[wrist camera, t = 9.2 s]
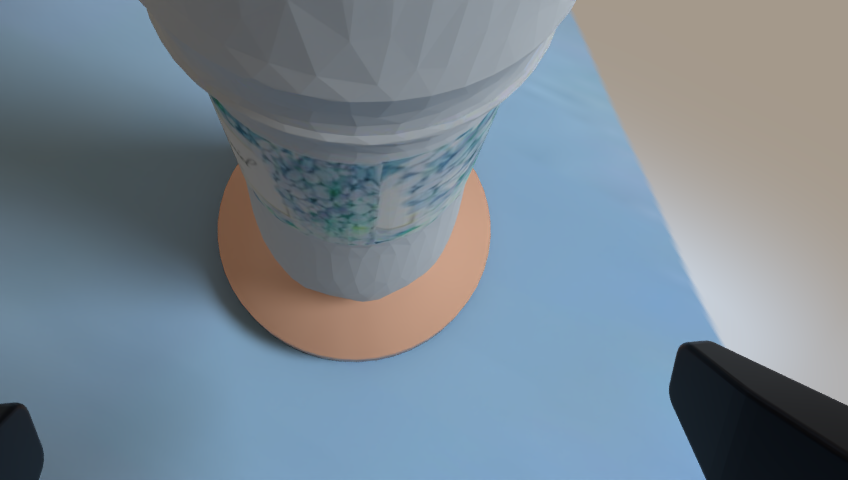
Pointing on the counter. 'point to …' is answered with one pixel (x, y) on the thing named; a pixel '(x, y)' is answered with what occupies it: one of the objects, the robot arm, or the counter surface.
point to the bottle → (356, 118)
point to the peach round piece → (344, 318)
